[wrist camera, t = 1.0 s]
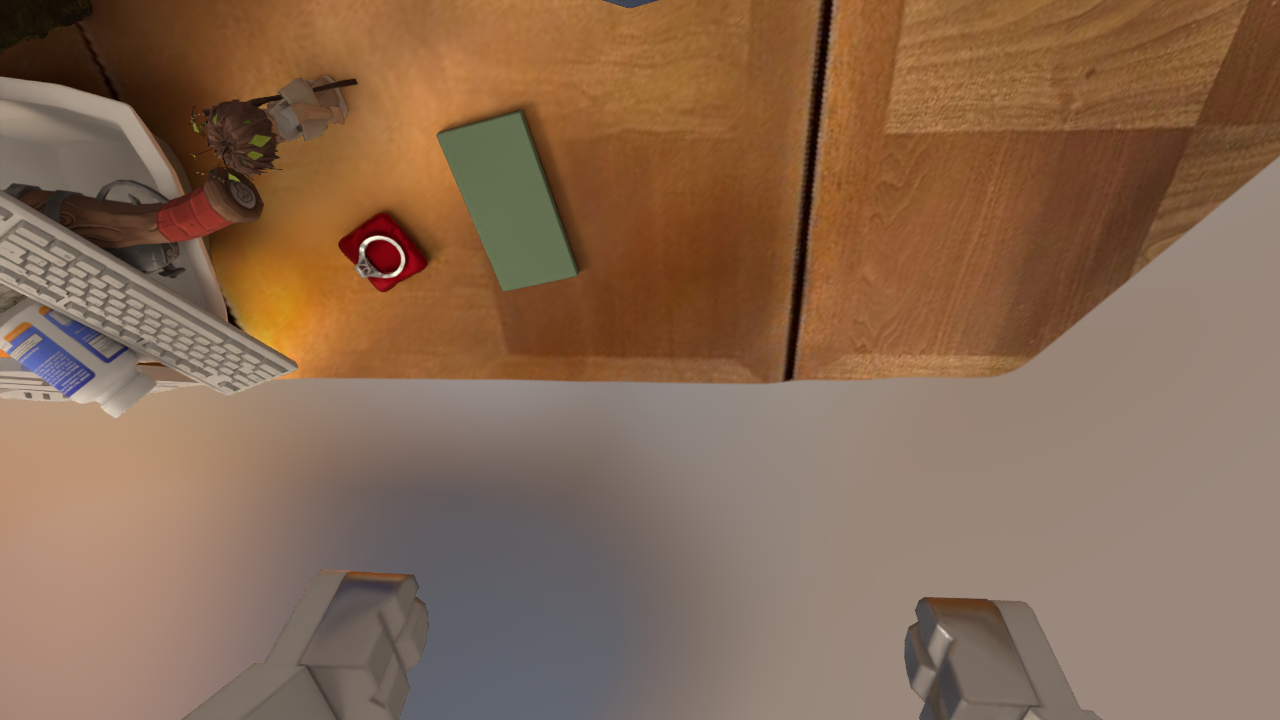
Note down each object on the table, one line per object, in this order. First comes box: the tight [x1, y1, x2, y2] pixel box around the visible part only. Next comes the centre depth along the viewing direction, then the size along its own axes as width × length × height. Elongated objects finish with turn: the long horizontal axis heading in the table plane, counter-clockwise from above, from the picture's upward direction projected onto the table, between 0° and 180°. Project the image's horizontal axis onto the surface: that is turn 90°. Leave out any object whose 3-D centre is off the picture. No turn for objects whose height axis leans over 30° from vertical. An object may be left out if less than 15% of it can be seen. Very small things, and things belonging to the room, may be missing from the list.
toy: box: [189, 76, 358, 183], centre depth 44 cm, size 6×6×15 cm
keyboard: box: [0, 189, 298, 396], centre depth 46 cm, size 29×10×2 cm, turn 31°
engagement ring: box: [338, 213, 428, 292], centre depth 56 cm, size 6×6×3 cm
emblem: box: [0, 357, 203, 402], centre depth 58 cm, size 20×1×20 cm
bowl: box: [0, 77, 228, 363], centre depth 52 cm, size 22×23×8 cm
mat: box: [436, 110, 579, 291], centre depth 53 cm, size 14×7×1 cm, turn 15°
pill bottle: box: [0, 302, 158, 418], centre depth 52 cm, size 5×5×10 cm
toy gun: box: [2, 167, 264, 279], centre depth 45 cm, size 6×22×10 cm
